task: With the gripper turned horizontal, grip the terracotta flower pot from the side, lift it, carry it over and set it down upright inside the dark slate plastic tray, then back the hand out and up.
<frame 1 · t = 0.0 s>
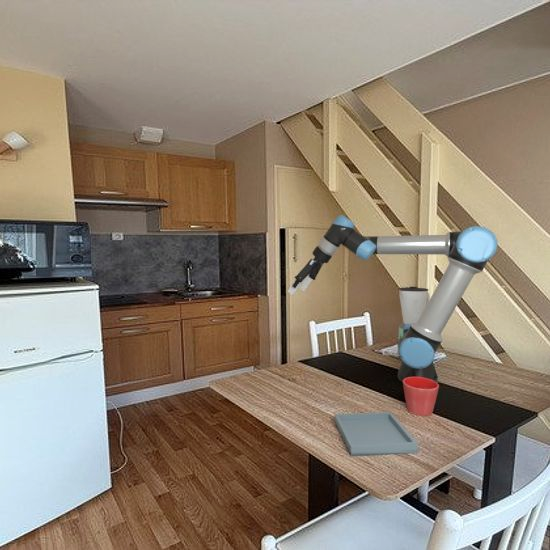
hand: (296, 291, 147), 36 cm above the table, tool tilted 35°, fingers open, 13 cm apart
flower pot: (419, 411, 116), on the table
juicer: (412, 357, 172), on the table
tray: (372, 436, 100), on the table
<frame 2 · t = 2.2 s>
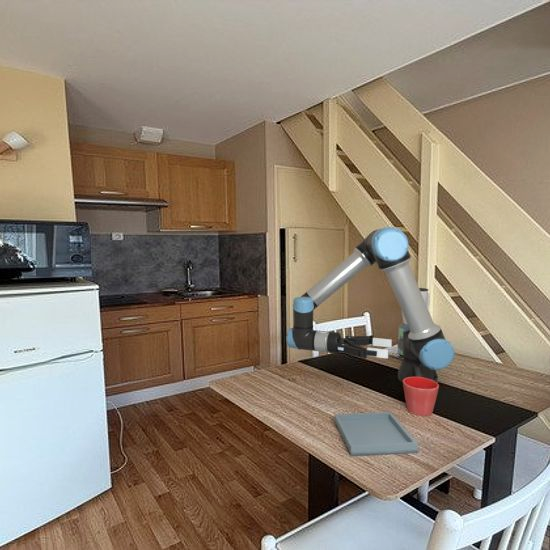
hand: (390, 348, 118), 20 cm above the table, tool horizontal, fingers open, 13 cm apart
nothing on the table moved.
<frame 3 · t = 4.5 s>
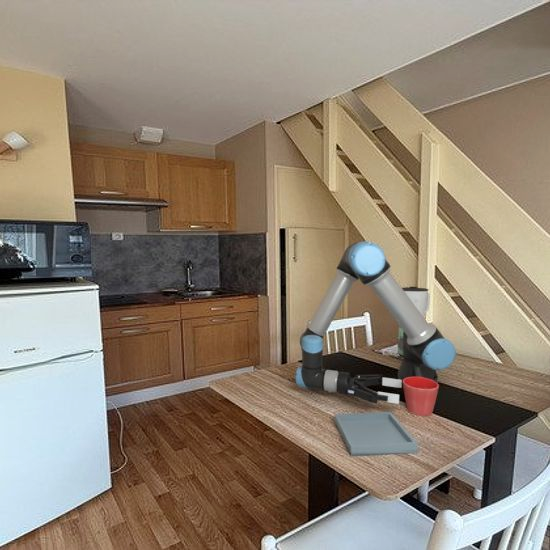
hand: (400, 391, 117), 6 cm above the table, tool horizontal, fingers open, 13 cm apart
nothing on the table moved.
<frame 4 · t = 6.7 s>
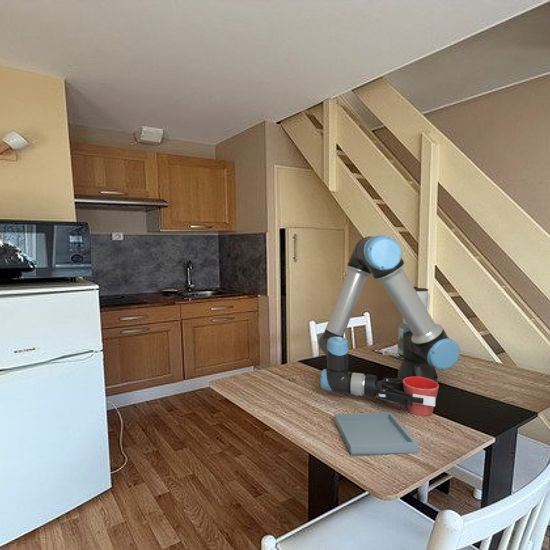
hand: (434, 395, 113), 6 cm above the table, tool horizontal, fingers closed on flower pot, 10 cm apart
flower pot: (419, 411, 116), on the table, touching gripper
everything else where it was.
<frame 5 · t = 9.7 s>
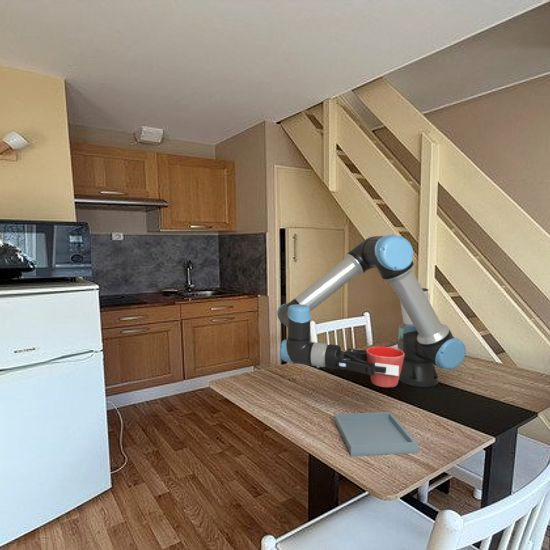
hand: (400, 365, 103), 19 cm above the table, tool horizontal, fingers closed on flower pot, 10 cm apart
flower pot: (384, 383, 106), point 13 cm above the table, touching gripper
everything else where it was.
when the fingers open (8 cm above the table, at t = 12.7 s): flower pot drops 2 cm, resting on tray.
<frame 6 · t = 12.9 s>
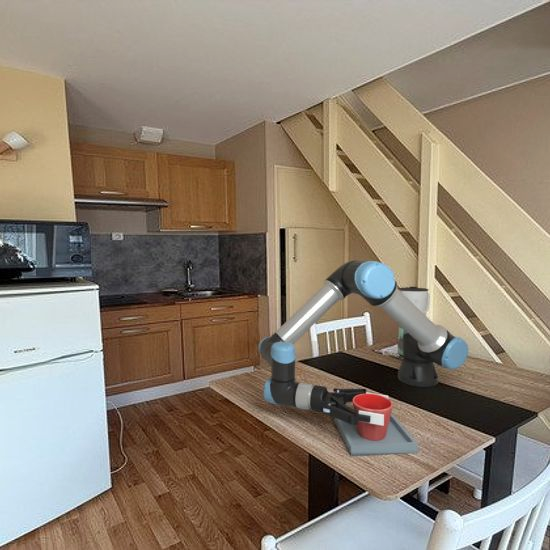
hand: (386, 409, 98), 8 cm above the table, tool horizontal, fingers open, 12 cm apart
flower pot: (371, 434, 100), point 1 cm above the table, touching tray
everything else where it was.
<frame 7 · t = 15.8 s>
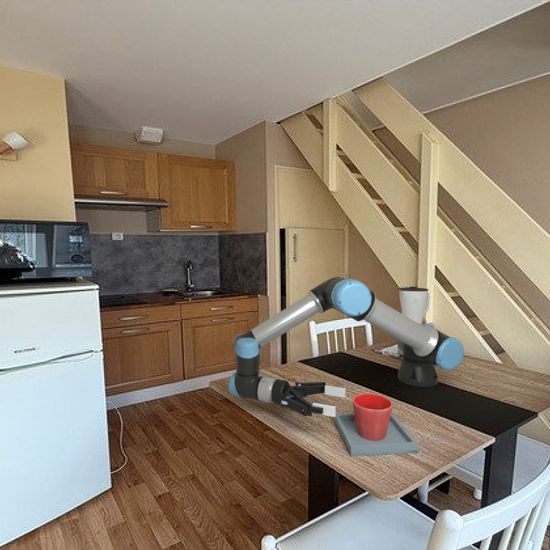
hand: (340, 401, 103), 9 cm above the table, tool horizontal, fingers open, 13 cm apart
nothing on the table moved.
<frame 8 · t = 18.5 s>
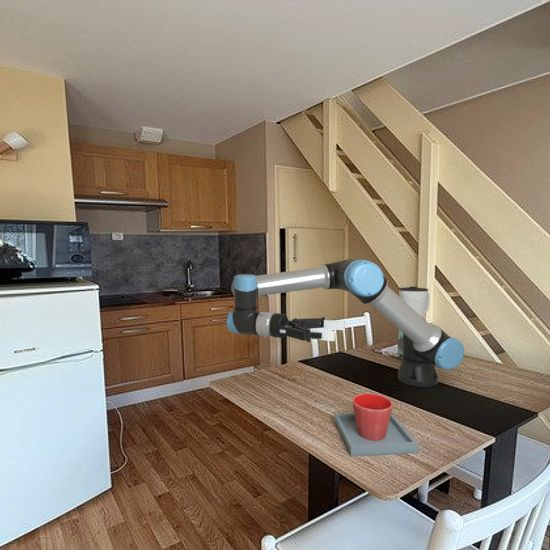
hand: (340, 330, 102), 30 cm above the table, tool horizontal, fingers open, 13 cm apart
nothing on the table moved.
at the end: flower pot inside the target area on the tray (0.3 cm from its centre), point 0.6 cm above the tray's base; flower pot tilted 0°; the gripper is holding nothing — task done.
